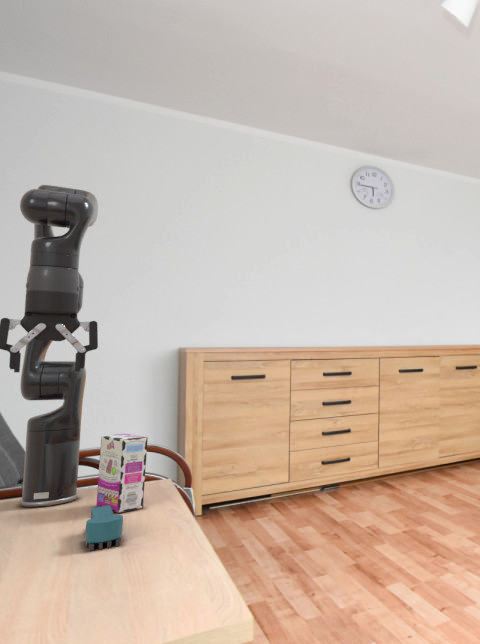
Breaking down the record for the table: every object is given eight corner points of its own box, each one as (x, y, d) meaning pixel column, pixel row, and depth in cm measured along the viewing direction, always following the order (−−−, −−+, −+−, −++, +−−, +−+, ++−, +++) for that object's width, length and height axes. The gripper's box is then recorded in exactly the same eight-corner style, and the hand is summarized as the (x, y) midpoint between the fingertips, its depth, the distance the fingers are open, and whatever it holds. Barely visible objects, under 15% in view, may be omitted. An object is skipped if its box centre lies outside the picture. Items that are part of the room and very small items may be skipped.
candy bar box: (145, 508, 128) (149, 436, 129) (118, 514, 124) (122, 439, 124) (121, 501, 133) (125, 432, 134) (95, 506, 129) (99, 435, 130)
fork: (82, 530, 113) (83, 524, 113) (114, 525, 116) (114, 519, 116) (87, 551, 101) (87, 545, 101) (121, 545, 105) (122, 539, 105)
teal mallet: (82, 527, 111) (83, 508, 111) (116, 521, 115) (117, 504, 115) (85, 545, 101) (87, 524, 102) (123, 538, 105) (124, 519, 105)
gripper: (99, 294, 119) (94, 370, 118) (2, 288, 109) (-4, 371, 108) (102, 292, 114) (97, 372, 113) (-1, 286, 104) (-7, 373, 103)
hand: (47, 371), depth 111 cm, fingers open, 8 cm apart
